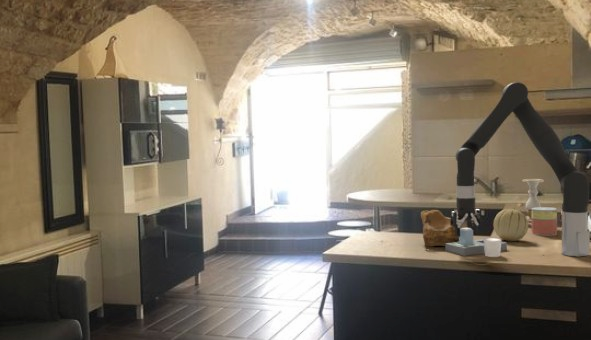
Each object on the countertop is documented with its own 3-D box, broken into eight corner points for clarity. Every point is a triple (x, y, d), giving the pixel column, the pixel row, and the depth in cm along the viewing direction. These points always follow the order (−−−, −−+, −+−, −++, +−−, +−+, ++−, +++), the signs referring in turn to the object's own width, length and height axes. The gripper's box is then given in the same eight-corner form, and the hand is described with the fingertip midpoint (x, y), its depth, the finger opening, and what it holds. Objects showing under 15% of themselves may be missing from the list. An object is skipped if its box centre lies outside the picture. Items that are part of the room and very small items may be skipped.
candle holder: (517, 225, 310) (516, 179, 308) (532, 223, 314) (532, 178, 313) (533, 228, 300) (533, 180, 298) (549, 226, 304) (549, 179, 303)
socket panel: (506, 251, 248) (506, 242, 248) (463, 256, 239) (463, 247, 239) (486, 246, 259) (486, 237, 259) (445, 251, 250) (445, 242, 250)
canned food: (561, 235, 279) (561, 209, 278) (536, 236, 279) (536, 210, 279) (551, 231, 290) (551, 206, 290) (527, 231, 291) (527, 207, 290)
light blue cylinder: (473, 251, 246) (473, 228, 245) (465, 252, 245) (465, 229, 244) (466, 250, 250) (466, 227, 249) (459, 251, 248) (458, 228, 248)
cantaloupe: (490, 242, 266) (490, 209, 265) (496, 237, 279) (496, 205, 278) (526, 245, 259) (526, 210, 258) (530, 239, 272) (530, 206, 271)
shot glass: (497, 254, 242) (497, 237, 242) (504, 258, 235) (504, 240, 235) (481, 255, 242) (480, 238, 241) (487, 258, 235) (486, 241, 235)
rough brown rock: (406, 247, 266) (404, 214, 264) (427, 238, 277) (426, 207, 275) (451, 256, 249) (450, 221, 247) (472, 246, 260) (472, 213, 258)
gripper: (457, 198, 239) (458, 238, 240) (485, 195, 245) (486, 235, 246) (445, 197, 246) (446, 235, 247) (473, 194, 252) (474, 232, 253)
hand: (466, 235), depth 247 cm, fingers open, 8 cm apart
